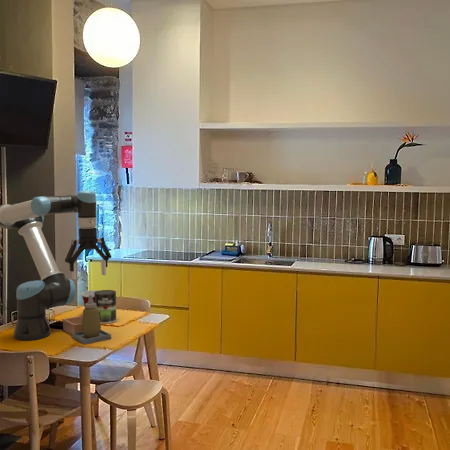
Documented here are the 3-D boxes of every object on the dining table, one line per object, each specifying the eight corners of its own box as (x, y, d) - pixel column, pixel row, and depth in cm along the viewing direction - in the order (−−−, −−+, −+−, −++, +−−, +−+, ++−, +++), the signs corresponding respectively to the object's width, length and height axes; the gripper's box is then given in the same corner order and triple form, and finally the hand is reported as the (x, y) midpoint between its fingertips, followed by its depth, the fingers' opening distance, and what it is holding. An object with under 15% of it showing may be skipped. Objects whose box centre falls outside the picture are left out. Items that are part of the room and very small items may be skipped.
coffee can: (117, 322, 264) (116, 293, 263) (94, 324, 262) (93, 294, 261) (116, 317, 274) (115, 289, 273) (95, 318, 272) (94, 290, 271)
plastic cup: (81, 319, 270) (81, 295, 269) (81, 314, 280) (80, 290, 279) (104, 318, 273) (104, 294, 272) (103, 312, 283) (102, 289, 282)
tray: (84, 344, 231) (84, 339, 231) (72, 337, 241) (72, 333, 240) (111, 338, 239) (110, 334, 239) (98, 332, 248) (98, 328, 248)
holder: (74, 336, 243) (74, 324, 243) (63, 330, 253) (62, 319, 252) (100, 330, 251) (100, 320, 250) (88, 325, 261) (88, 314, 260)
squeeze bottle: (81, 334, 242) (79, 294, 240) (99, 332, 245) (98, 292, 243) (83, 340, 235) (81, 298, 233) (102, 337, 238) (101, 296, 236)
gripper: (62, 230, 225) (64, 281, 227) (118, 226, 240) (119, 274, 242) (55, 228, 231) (57, 279, 233) (110, 224, 246) (111, 272, 248)
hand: (89, 276), depth 238 cm, fingers open, 13 cm apart
